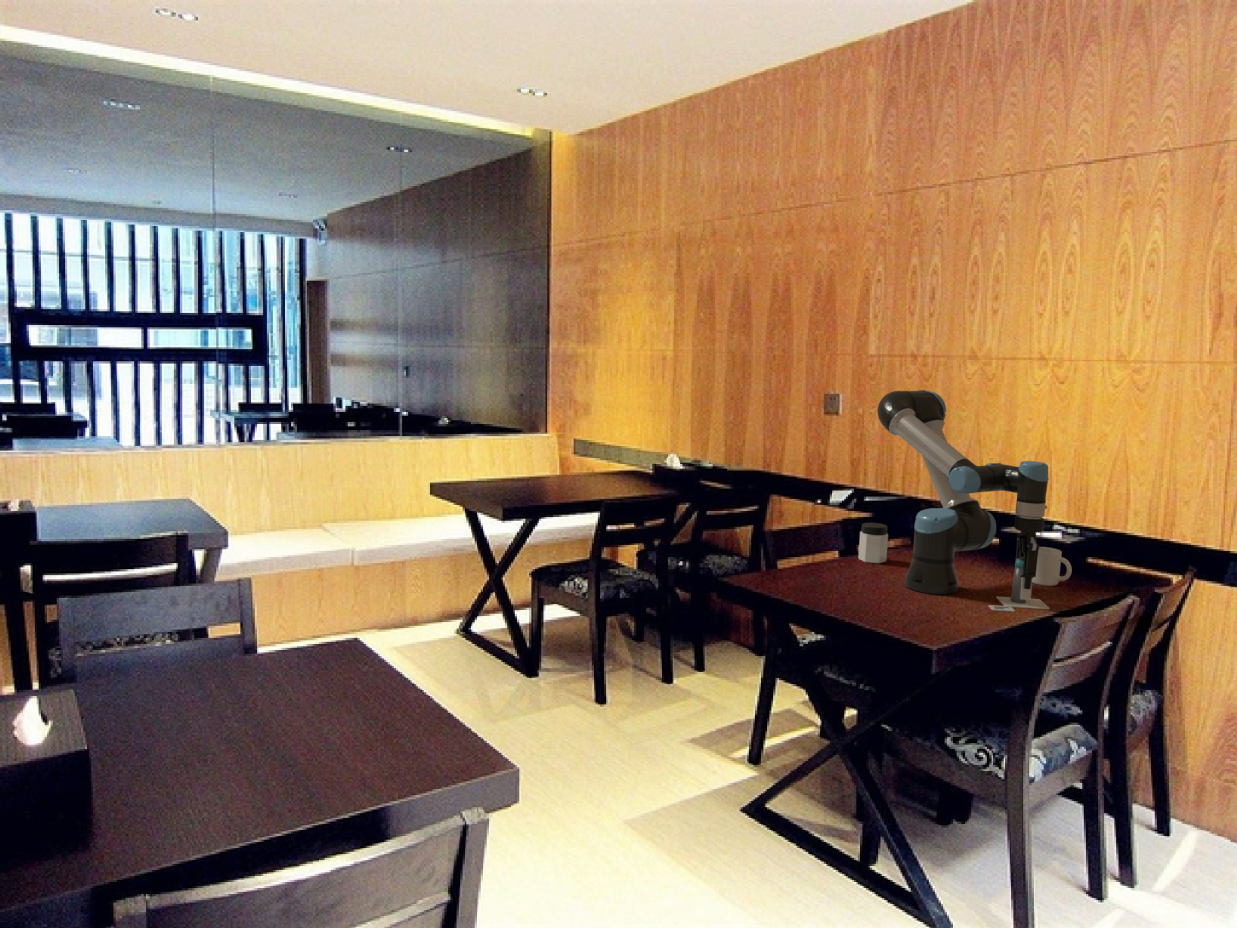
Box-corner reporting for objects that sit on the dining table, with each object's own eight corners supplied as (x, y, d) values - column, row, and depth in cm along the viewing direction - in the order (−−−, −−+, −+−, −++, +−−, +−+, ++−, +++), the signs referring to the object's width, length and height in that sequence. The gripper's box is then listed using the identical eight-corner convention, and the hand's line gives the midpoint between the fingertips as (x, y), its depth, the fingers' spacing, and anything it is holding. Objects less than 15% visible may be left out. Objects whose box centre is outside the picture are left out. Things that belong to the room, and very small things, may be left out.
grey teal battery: (1013, 602, 255) (1019, 558, 253) (1008, 598, 259) (1014, 555, 257) (1028, 603, 254) (1034, 559, 252) (1022, 599, 258) (1028, 556, 257)
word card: (992, 610, 248) (992, 609, 248) (988, 606, 252) (988, 604, 252) (1015, 611, 247) (1015, 610, 247) (1010, 607, 251) (1011, 606, 251)
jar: (890, 563, 297) (892, 527, 295) (867, 564, 295) (870, 528, 294) (876, 556, 306) (879, 521, 304) (854, 557, 304) (857, 522, 302)
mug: (1075, 586, 275) (1078, 553, 274) (1063, 590, 270) (1066, 557, 269) (1036, 577, 284) (1039, 545, 283) (1024, 581, 279) (1027, 549, 278)
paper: (1004, 606, 252) (1004, 605, 252) (996, 597, 261) (996, 596, 261) (1049, 609, 251) (1050, 608, 250) (1039, 600, 259) (1039, 598, 259)
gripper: (1053, 522, 244) (1046, 606, 247) (1035, 511, 261) (1028, 590, 264) (1024, 521, 245) (1017, 604, 248) (1007, 510, 262) (1001, 588, 265)
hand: (1022, 596), depth 256 cm, fingers closed on grey teal battery, 4 cm apart
